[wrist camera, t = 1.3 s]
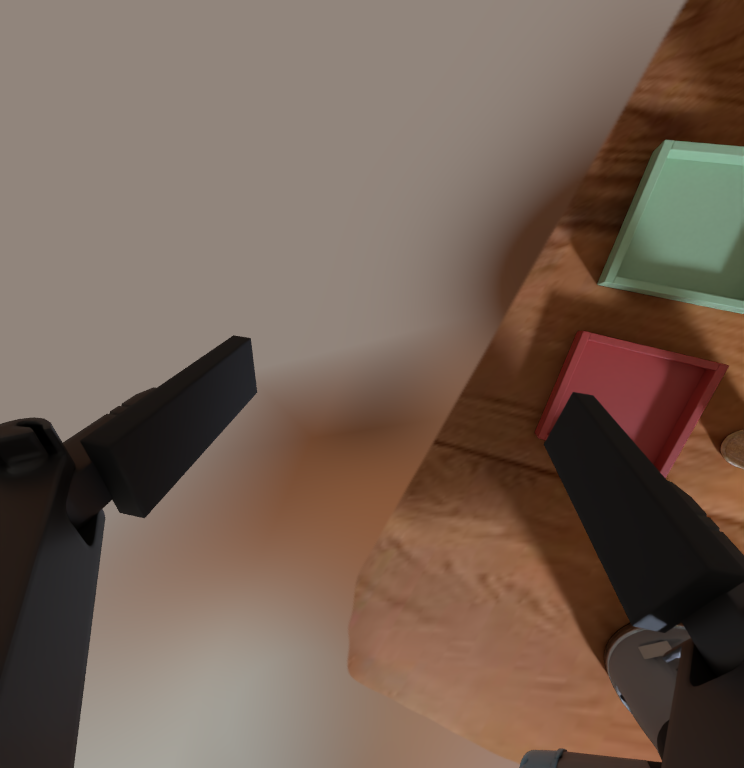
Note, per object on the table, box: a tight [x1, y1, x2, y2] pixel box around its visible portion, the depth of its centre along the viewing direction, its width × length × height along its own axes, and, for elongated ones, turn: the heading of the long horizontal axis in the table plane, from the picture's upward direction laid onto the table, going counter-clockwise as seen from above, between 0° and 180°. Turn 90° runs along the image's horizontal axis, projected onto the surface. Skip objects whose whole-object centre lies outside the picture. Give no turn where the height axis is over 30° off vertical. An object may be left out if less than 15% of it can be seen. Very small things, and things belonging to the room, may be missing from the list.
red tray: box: [535, 331, 729, 478], centre depth 35 cm, size 14×14×2 cm
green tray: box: [597, 140, 744, 314], centre depth 30 cm, size 14×14×2 cm
